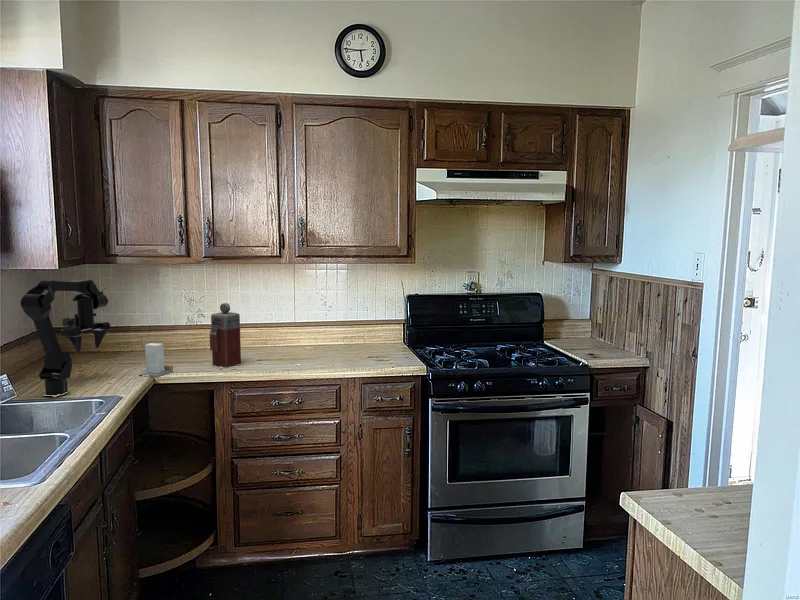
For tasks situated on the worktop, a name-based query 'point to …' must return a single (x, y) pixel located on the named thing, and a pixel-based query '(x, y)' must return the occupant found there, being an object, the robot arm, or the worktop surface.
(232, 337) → the red french press
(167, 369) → the plate
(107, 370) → the worktop surface
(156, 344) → the skincare box
